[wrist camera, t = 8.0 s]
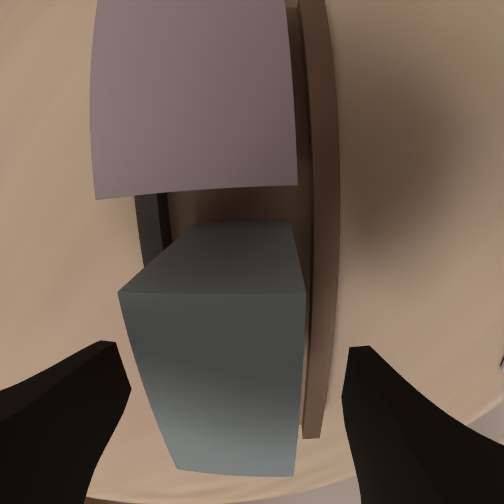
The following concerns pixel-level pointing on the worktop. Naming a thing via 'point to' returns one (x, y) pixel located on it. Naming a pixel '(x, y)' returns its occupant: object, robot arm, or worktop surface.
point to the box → (191, 96)
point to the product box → (223, 346)
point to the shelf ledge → (284, 202)
